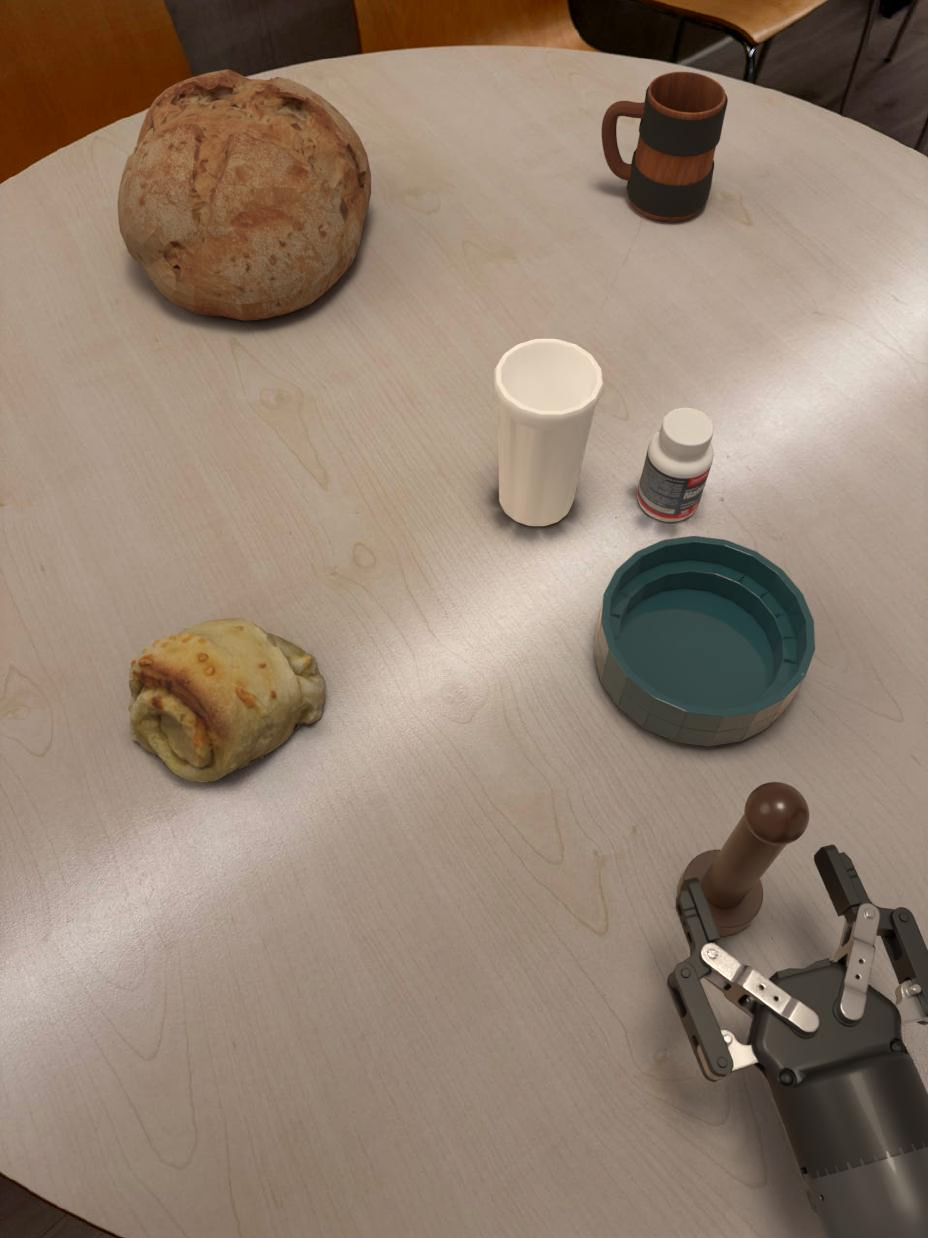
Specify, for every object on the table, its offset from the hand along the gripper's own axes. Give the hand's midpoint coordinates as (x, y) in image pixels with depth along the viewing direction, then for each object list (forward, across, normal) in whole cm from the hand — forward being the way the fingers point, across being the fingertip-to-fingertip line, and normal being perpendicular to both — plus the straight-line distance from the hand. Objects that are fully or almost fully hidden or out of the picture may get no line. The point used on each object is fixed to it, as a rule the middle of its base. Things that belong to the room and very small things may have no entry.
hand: (755, 865), depth 61 cm
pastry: (+22, +30, +9) cm, 39 cm away
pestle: (+1, 0, +9) cm, 9 cm away
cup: (+36, +3, +9) cm, 38 cm away
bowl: (+19, -5, +9) cm, 21 cm away
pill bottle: (+34, -8, +9) cm, 36 cm away
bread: (+75, +21, +9) cm, 79 cm away
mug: (+73, -20, +9) cm, 76 cm away
